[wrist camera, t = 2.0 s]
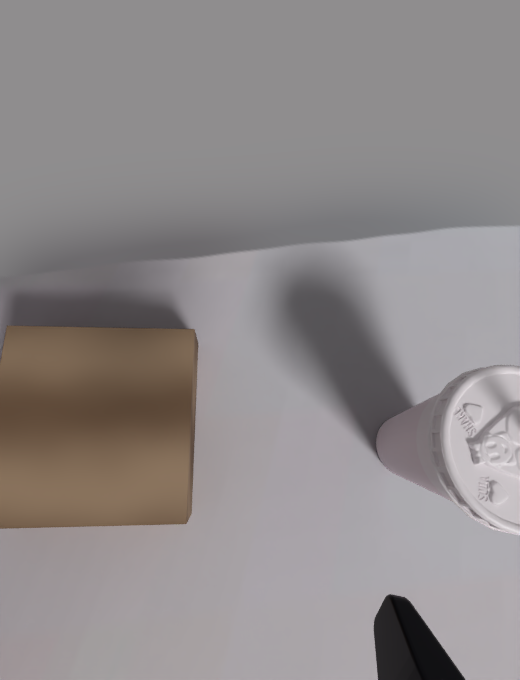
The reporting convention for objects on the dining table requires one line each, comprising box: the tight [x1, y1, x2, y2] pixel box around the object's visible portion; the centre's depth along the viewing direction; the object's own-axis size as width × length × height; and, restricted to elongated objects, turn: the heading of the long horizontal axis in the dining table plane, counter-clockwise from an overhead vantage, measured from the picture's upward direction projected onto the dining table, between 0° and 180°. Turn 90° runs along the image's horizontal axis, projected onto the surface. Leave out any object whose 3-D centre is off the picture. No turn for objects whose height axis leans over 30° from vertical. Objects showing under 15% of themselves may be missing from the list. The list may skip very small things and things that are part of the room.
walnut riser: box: [0, 326, 198, 528], centre depth 21 cm, size 10×10×3 cm
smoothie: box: [376, 365, 520, 535], centre depth 17 cm, size 6×6×14 cm
